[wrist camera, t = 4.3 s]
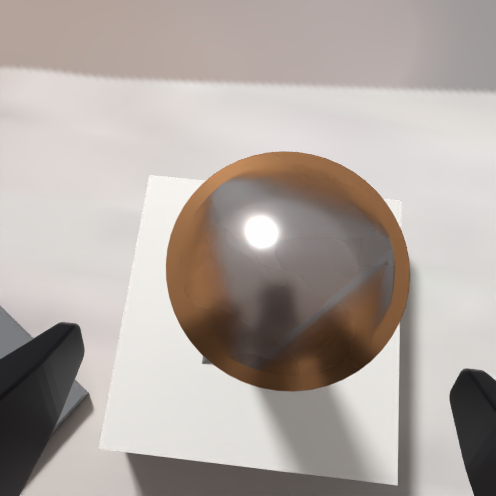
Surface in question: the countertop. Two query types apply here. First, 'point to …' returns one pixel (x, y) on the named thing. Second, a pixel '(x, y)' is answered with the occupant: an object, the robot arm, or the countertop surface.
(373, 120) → the countertop surface
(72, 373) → the robot arm
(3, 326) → the key mat
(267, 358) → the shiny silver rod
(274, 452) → the key housing
